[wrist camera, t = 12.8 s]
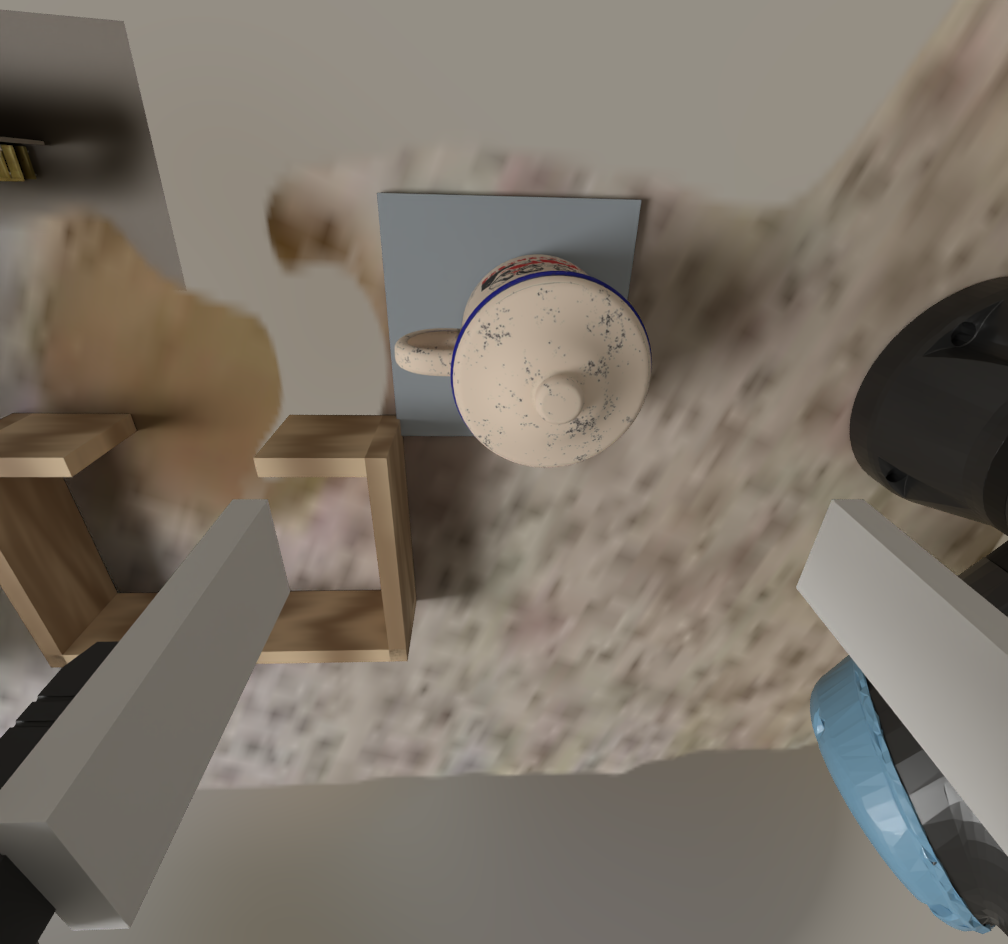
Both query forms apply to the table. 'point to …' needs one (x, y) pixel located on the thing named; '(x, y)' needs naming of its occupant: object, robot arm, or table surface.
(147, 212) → the platform
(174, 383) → the table surface
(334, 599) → the open enclosure
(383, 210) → the mat
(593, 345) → the teacup with lid
